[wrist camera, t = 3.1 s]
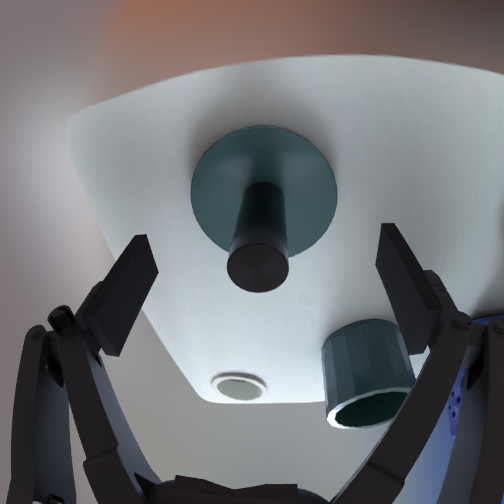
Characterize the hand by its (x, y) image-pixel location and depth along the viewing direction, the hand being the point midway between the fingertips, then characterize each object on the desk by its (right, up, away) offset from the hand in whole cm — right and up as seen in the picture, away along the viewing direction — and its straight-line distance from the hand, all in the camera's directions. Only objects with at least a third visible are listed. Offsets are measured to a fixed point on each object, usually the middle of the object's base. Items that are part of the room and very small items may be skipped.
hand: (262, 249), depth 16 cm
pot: (+12, -11, +15) cm, 22 cm away
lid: (0, +4, +5) cm, 7 cm away
